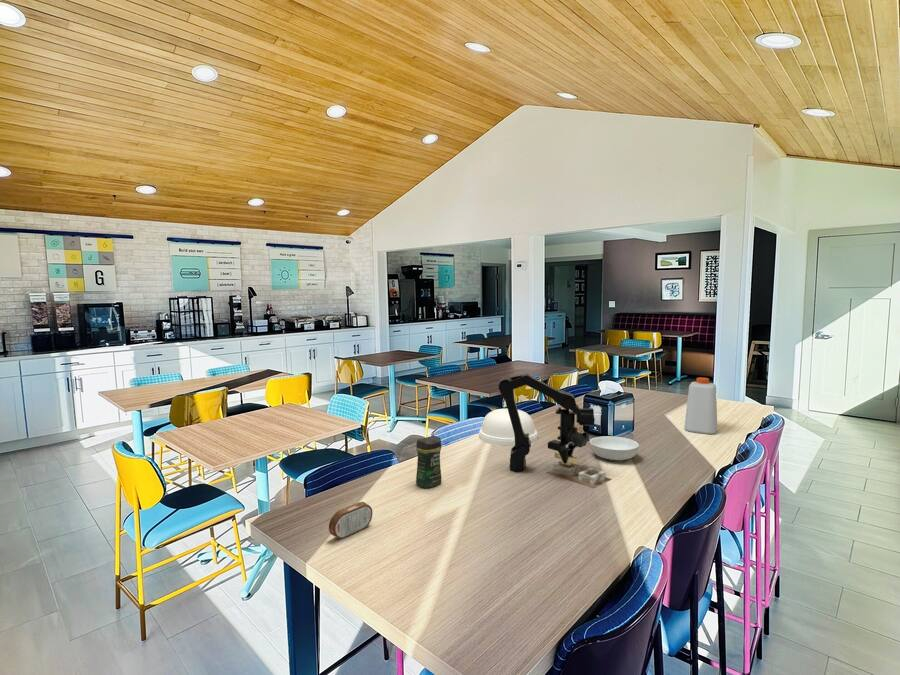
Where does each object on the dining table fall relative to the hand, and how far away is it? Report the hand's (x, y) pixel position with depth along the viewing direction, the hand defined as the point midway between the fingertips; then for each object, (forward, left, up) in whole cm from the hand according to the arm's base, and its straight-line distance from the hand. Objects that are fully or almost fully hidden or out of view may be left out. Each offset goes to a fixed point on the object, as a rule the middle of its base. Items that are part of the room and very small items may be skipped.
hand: (566, 462), depth 197 cm
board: (0, -6, -5) cm, 7 cm away
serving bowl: (+33, -3, -5) cm, 34 cm away
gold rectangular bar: (0, 0, -4) cm, 4 cm away
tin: (-89, +17, -5) cm, 91 cm away
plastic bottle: (+106, -13, -5) cm, 107 cm away
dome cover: (+22, +50, -6) cm, 55 cm away
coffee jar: (-47, +30, -5) cm, 56 cm away
